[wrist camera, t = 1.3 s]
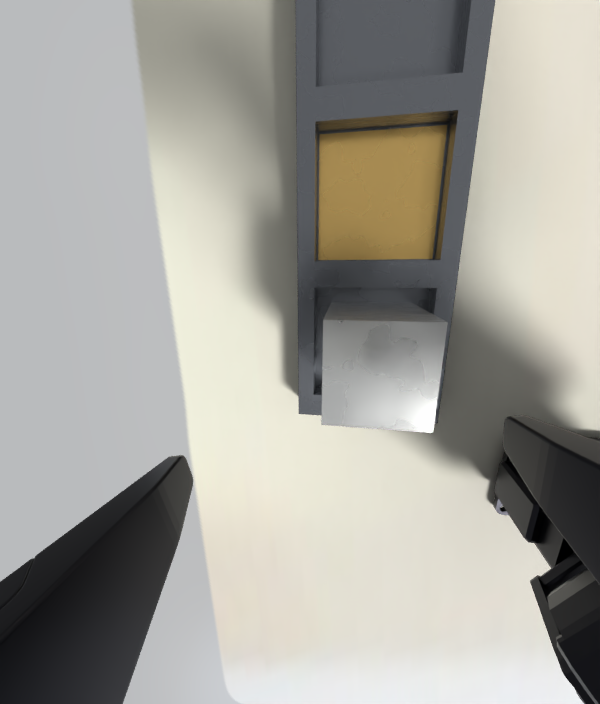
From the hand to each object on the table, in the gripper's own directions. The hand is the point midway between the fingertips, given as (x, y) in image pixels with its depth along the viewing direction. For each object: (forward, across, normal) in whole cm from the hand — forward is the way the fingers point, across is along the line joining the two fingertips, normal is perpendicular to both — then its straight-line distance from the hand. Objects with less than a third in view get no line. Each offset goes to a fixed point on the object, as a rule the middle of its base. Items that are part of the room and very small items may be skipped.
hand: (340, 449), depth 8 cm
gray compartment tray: (+13, -4, -7) cm, 16 cm away
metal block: (+12, -3, +1) cm, 12 cm away
